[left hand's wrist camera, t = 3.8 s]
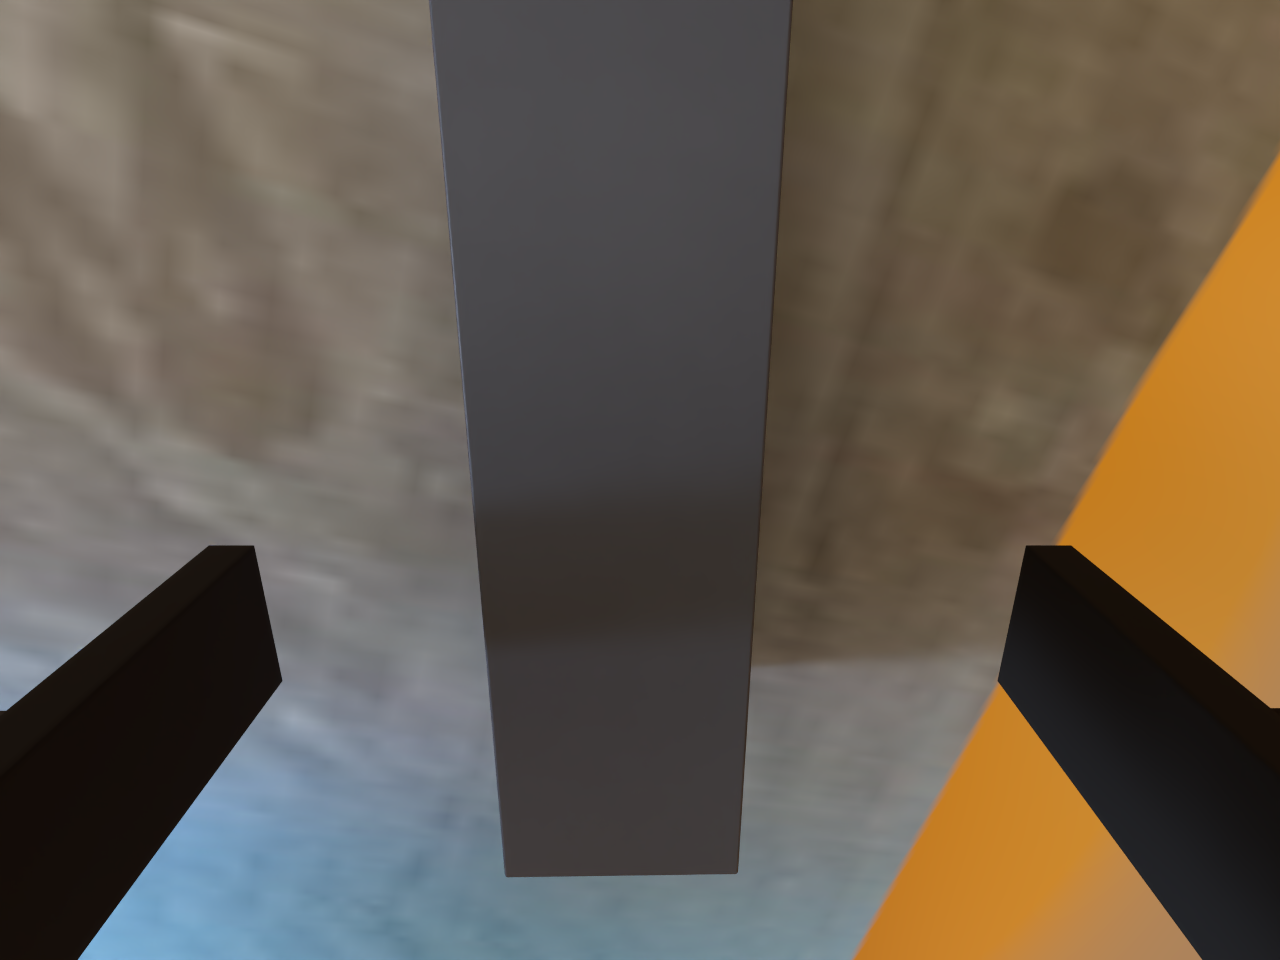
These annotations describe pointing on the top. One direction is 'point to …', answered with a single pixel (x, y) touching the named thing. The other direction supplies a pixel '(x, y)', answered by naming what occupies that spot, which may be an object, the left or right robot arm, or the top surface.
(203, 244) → the top surface
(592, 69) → the post
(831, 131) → the top surface
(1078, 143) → the top surface
